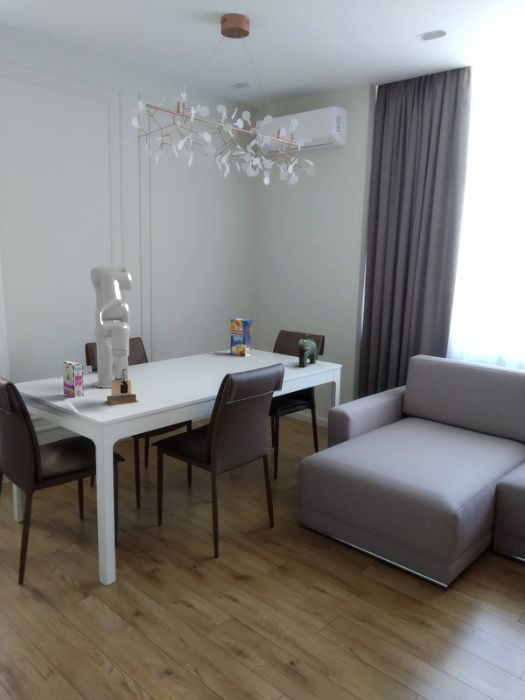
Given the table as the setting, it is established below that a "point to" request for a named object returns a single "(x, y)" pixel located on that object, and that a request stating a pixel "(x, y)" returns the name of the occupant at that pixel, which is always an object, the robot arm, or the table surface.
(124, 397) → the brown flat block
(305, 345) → the green elephant figurine
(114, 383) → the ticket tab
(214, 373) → the table surface
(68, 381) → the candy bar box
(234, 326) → the juice carton
